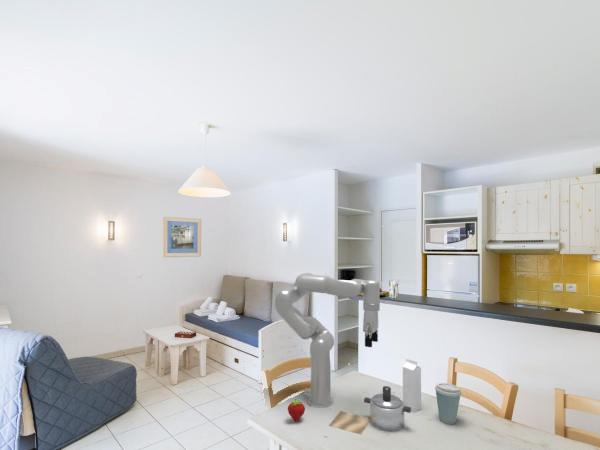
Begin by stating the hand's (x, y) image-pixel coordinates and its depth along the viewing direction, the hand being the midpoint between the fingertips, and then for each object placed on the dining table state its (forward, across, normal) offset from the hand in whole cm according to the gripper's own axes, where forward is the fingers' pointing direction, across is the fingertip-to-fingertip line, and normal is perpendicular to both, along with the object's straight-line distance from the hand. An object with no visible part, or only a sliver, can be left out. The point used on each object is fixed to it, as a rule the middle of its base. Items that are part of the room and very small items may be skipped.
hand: (371, 344), depth 157 cm
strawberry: (+31, +25, -26) cm, 47 cm away
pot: (+30, +8, +9) cm, 33 cm away
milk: (+31, -12, +16) cm, 36 cm away
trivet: (+30, +15, -5) cm, 34 cm away
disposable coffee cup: (+31, -8, +32) cm, 45 cm away
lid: (+21, +8, +9) cm, 24 cm away
